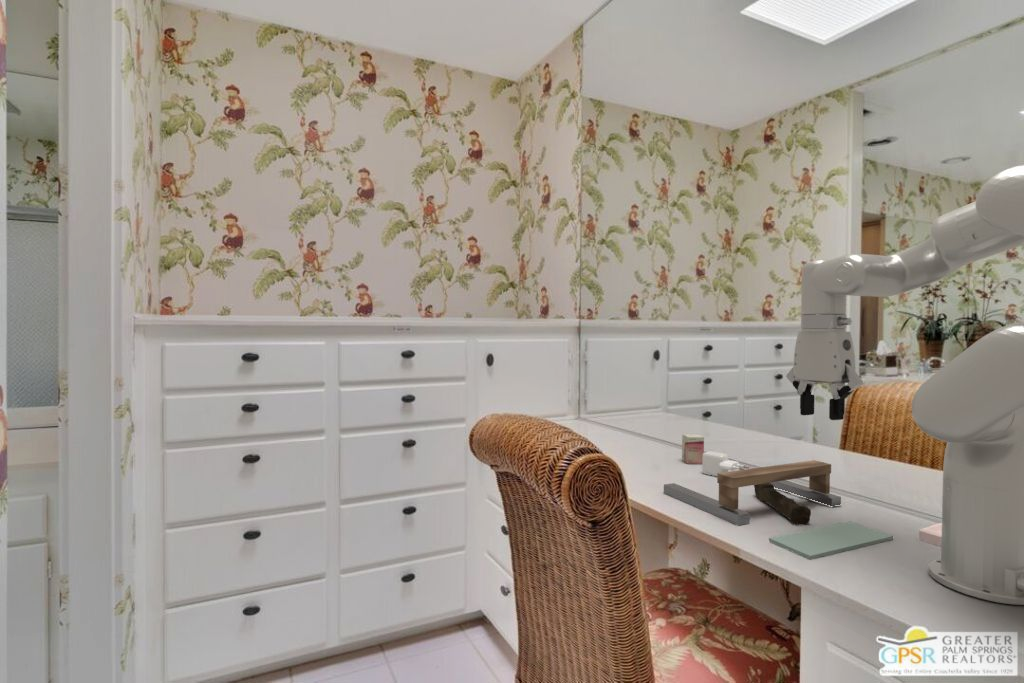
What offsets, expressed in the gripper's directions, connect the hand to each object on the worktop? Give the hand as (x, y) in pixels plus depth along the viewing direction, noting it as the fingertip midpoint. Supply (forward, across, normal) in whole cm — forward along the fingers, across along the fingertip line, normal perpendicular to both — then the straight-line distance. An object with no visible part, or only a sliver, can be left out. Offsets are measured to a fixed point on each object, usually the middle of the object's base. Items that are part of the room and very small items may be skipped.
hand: (821, 416), depth 102 cm
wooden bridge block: (+19, +10, 0) cm, 22 cm away
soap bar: (+22, -14, -15) cm, 30 cm away
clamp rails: (+21, +17, 0) cm, 27 cm away
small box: (+22, +48, -12) cm, 54 cm away
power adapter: (+22, +33, -9) cm, 40 cm away
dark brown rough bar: (+22, +10, 0) cm, 24 cm away
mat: (+21, -6, +5) cm, 23 cm away
